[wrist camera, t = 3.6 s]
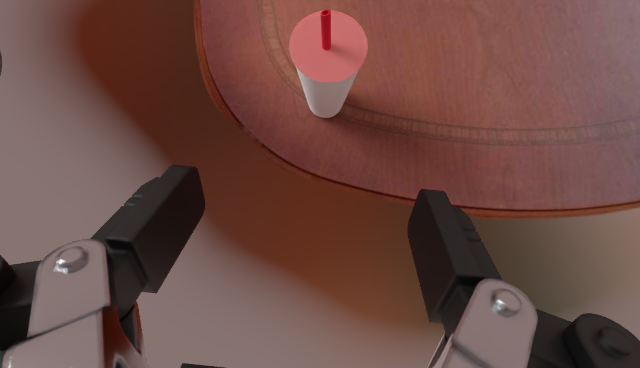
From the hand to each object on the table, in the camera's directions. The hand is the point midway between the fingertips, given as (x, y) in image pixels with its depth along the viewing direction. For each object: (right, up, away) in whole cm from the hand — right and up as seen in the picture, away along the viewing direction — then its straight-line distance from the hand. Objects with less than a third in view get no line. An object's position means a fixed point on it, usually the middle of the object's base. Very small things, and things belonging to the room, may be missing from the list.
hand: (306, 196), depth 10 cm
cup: (+1, +9, +18) cm, 20 cm away
